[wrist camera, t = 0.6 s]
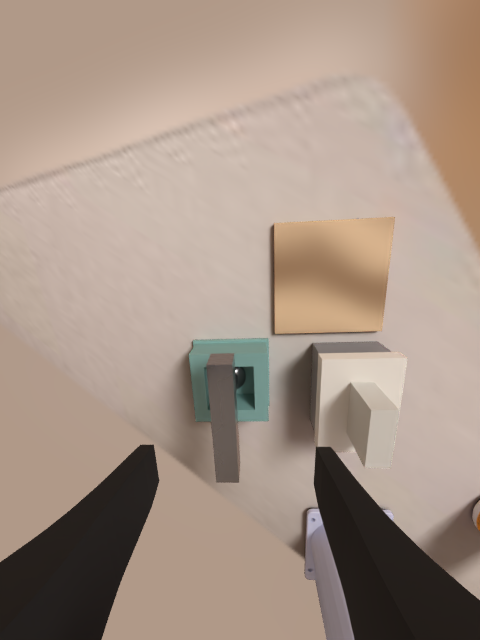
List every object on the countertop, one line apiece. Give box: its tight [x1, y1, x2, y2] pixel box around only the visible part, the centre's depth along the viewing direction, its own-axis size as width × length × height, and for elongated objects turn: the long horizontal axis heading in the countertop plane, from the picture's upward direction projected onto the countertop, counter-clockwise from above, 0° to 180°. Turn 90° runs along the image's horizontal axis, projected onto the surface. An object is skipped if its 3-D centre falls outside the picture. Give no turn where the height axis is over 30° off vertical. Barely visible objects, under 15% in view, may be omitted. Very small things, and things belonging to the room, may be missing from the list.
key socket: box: [189, 338, 269, 422], centre depth 19 cm, size 6×6×2 cm
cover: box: [314, 352, 408, 468], centre depth 16 cm, size 7×5×4 cm
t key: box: [206, 353, 246, 483], centre depth 17 cm, size 8×2×6 cm, turn 3°
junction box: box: [310, 342, 391, 432], centre depth 19 cm, size 7×5×2 cm
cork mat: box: [274, 217, 395, 334], centre depth 18 cm, size 8×8×1 cm
